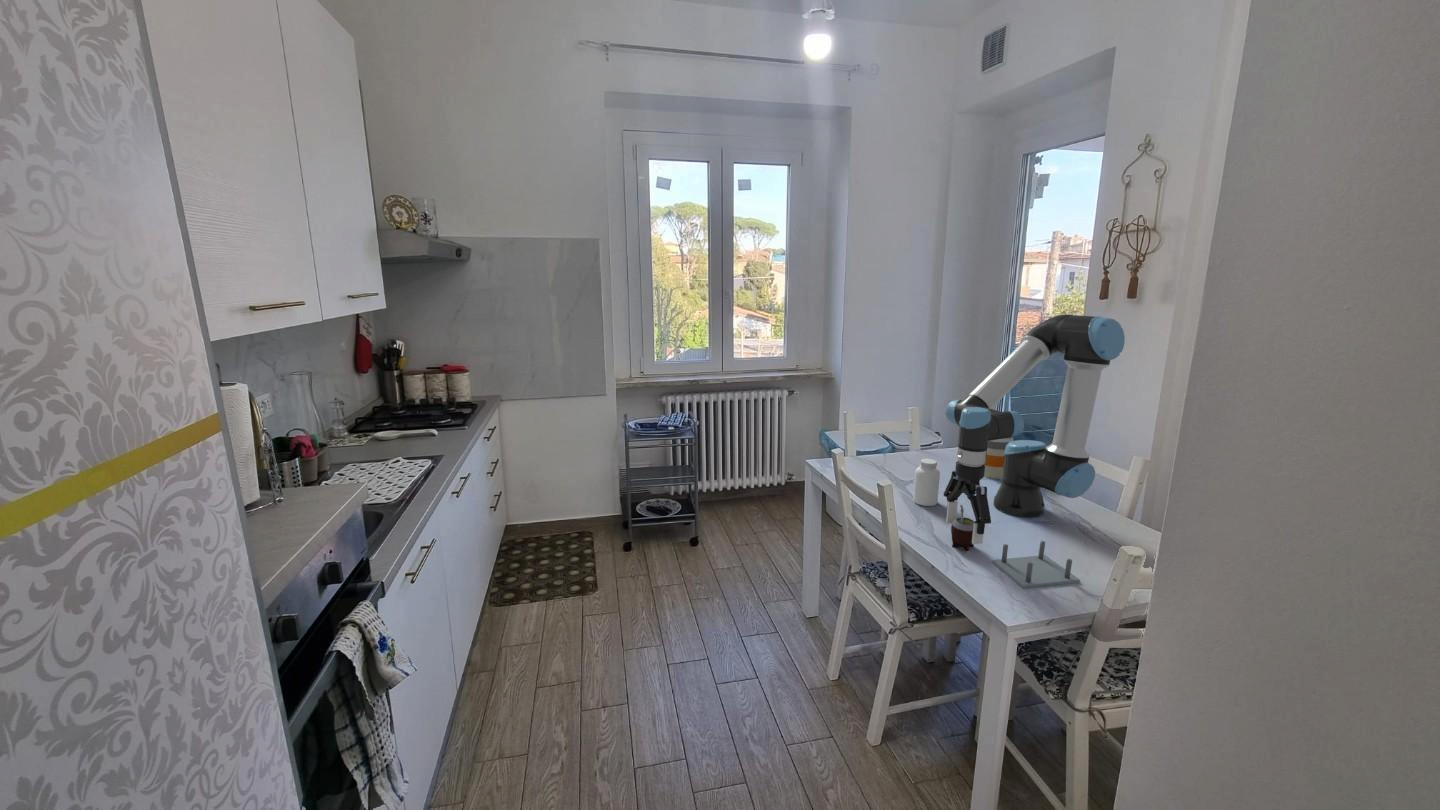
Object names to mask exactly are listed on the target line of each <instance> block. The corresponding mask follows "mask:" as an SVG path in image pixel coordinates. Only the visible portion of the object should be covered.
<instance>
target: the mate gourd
mask: <svg viewBox="0 0 1440 810" xmlns="http://www.w3.org/2000/svg"><path fill="white" fill-rule="evenodd" d="M959 506H960V514H961V515H960V517H956V519H955V520H954V521H953V523H951V528H950V531H951V532H950V534H951V541H952V544H951V547H952V548H962V549H963V550H964V551H965V552H968V553H969V552H970V549H969V548H973V547H975V544H972V535H973V526H974V521H975V520H973V519H972V518H968V517H964V512H965V510H964V507H963V505H962V504H960V505H959Z"/></svg>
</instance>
